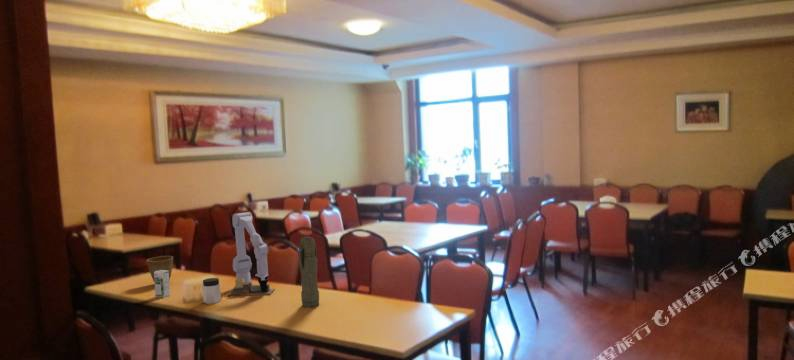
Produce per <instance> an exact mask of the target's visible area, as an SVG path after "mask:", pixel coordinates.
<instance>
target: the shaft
mask: <svg viewBox="0 0 794 360" xmlns="http://www.w3.org/2000/svg"><path fill="white" fill-rule="evenodd" d="M233 288H234V290H243V287H236V285H235V286H234V287H233ZM270 289H271V287H270V283H267V286H266V291H267V292H268V291H269V290H270ZM260 291H261V287H260V284H254V285H253V284H252V285H249V292H260Z"/></svg>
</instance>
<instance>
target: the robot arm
mask: <svg viewBox="0 0 794 360" xmlns="http://www.w3.org/2000/svg"><path fill="white" fill-rule="evenodd" d="M231 219H232V220H231V221H232V227H233V228H234V234H235V235H234V237H235V246H236V256H235V257H234V258H233V259H232V270H233V271H234V272H235V275H236V279H237V278H244V279H245V282H249V281H251V280H252V277H251V272H250V271H251V270H252V266H253V263H252V260H251V256H249V255H248V254H247V249H246V239H245V229H246V231H247V232H248V235H249V236H250V238H249V240H250V243H251V244H252V246H253V252H254V255H255V259H256V270H257V271H256V272H257V273H256V274H255V277H257V282H258V285H260V287H261V291H262V292H266V286H267V284H268V282H269V278H268V277H269V270H268V269H269V268H268V267H269V266H268V254H269V252H270V251H269V249H270V248H269V246H268V244H267V243H266V242H264V241H263V239H262V237H261V235H260V234H259V233H257V232H256V229H255V226H254V224H253V215H252V213H251V212H250V211H246V212H240V213H239V212H238V213H233V215H232V218H231ZM251 282H252V281H251ZM252 285H253V282H252Z"/></svg>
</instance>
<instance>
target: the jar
mask: <svg viewBox="0 0 794 360" xmlns="http://www.w3.org/2000/svg"><path fill="white" fill-rule="evenodd" d="M221 297H222V296H221V284H220V278H218V277H210V278H205V279H203V280H202V300H203V303H205V304H206V305H211V304H214V305H215V304H218V303H220V302H221V301H222V298H221Z"/></svg>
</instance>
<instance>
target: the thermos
mask: <svg viewBox="0 0 794 360" xmlns="http://www.w3.org/2000/svg"><path fill="white" fill-rule="evenodd" d="M297 254H298V256H297V257H298V268H299V272H300V274H301V275H300V276H301V293H300V295H301V297H300V298H301V305H302V306H301V307H303V308H306V307H310V308H315V306H316V307H318V306H319V305H320V290H319V288H318V271H319V269H318V263H319V262H318V260H319V259H318V246H317V245H316V242H315V239H314V237H313V236H303V237H301V239H300V242H299V249H298V253H297ZM317 305H318V306H317Z"/></svg>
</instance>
